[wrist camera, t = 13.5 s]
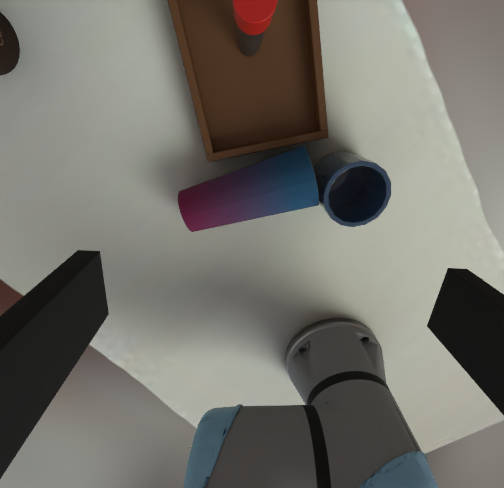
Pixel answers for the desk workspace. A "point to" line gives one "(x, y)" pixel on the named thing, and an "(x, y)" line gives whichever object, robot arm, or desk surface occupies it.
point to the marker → (252, 23)
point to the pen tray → (252, 77)
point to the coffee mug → (8, 46)
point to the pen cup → (351, 188)
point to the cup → (252, 192)
